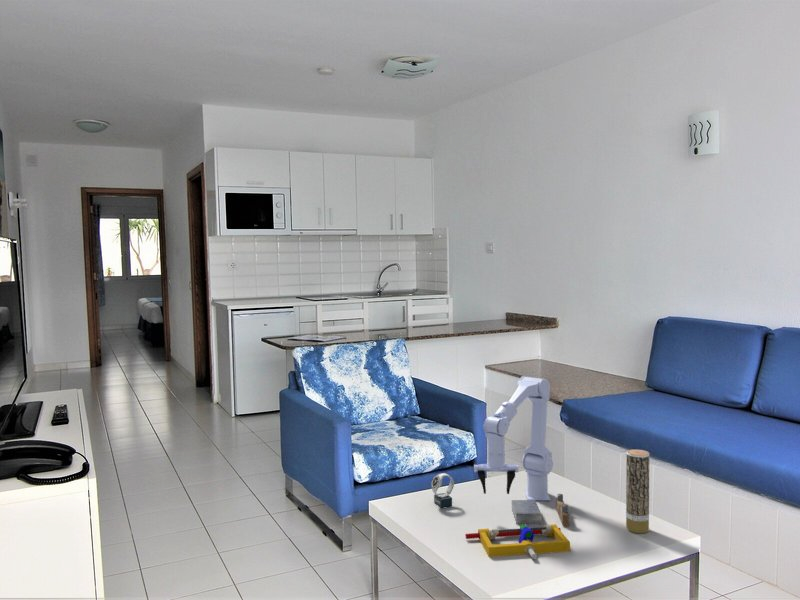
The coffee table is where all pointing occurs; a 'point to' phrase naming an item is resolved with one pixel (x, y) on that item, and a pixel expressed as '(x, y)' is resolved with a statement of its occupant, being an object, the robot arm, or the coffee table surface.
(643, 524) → the brown bark patterned canister
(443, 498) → the watch
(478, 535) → the mechanical clamp
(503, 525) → the coffee table surface
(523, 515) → the grey metal block
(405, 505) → the coffee table surface
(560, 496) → the bench stop
